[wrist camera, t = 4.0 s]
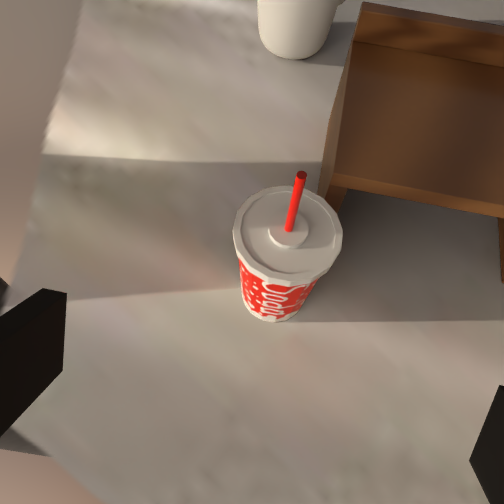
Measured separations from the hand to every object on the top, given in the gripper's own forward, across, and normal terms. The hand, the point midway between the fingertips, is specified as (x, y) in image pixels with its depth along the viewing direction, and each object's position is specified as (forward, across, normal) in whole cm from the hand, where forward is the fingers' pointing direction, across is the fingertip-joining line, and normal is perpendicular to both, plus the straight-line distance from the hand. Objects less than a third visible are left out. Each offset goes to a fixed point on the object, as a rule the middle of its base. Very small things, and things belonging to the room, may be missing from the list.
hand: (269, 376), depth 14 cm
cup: (+39, -2, +15) cm, 41 cm away
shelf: (+26, +10, +3) cm, 28 cm away
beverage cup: (+19, 0, -5) cm, 19 cm away
